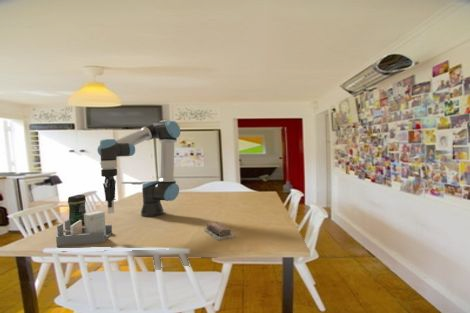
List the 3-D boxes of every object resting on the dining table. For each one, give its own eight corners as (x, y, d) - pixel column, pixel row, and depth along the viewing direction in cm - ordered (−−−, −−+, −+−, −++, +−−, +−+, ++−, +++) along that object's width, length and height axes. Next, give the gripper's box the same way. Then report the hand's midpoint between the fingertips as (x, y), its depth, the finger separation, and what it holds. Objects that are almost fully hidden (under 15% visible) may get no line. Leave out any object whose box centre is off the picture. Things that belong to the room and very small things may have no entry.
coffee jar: (77, 227, 157) (75, 196, 156) (66, 226, 159) (64, 196, 158) (89, 222, 166) (88, 193, 165) (79, 221, 168) (77, 193, 167)
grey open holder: (82, 234, 140) (81, 219, 139) (73, 241, 129) (72, 225, 129) (64, 235, 138) (63, 221, 138) (53, 243, 128) (52, 227, 128)
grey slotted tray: (112, 233, 144) (111, 215, 143) (103, 242, 130) (102, 223, 129) (70, 236, 140) (69, 218, 140) (56, 246, 127) (55, 226, 126)
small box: (101, 233, 141) (99, 210, 140) (106, 236, 137) (104, 211, 136) (85, 238, 135) (83, 213, 134) (89, 240, 131) (88, 215, 130)
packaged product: (203, 222, 143) (219, 219, 148) (203, 231, 143) (219, 228, 148) (217, 232, 127) (234, 228, 132) (217, 241, 128) (235, 237, 133)
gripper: (105, 167, 141) (107, 210, 142) (96, 169, 128) (99, 216, 129) (120, 167, 142) (122, 209, 143) (112, 169, 129) (114, 215, 130)
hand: (111, 212), depth 136 cm, fingers closed
